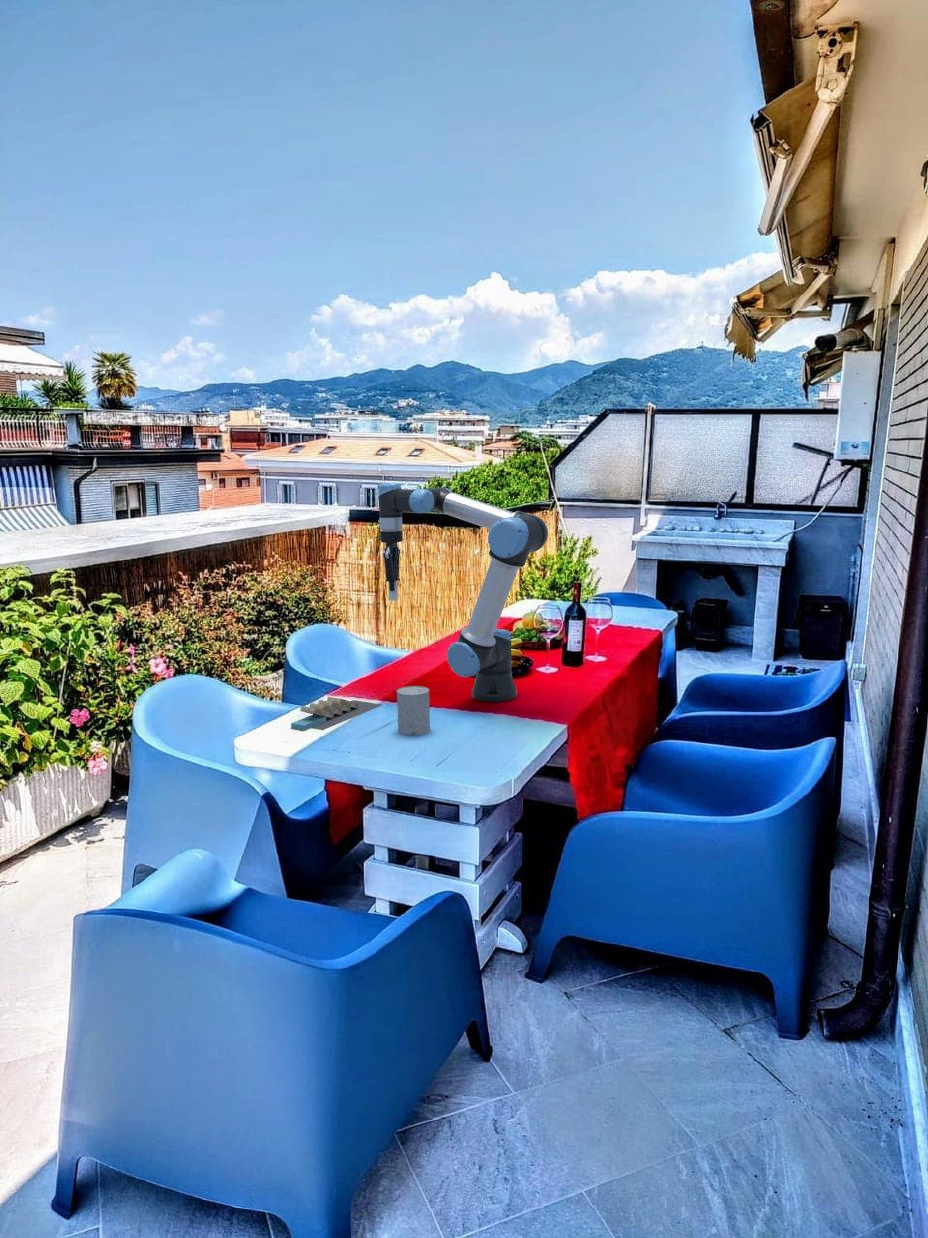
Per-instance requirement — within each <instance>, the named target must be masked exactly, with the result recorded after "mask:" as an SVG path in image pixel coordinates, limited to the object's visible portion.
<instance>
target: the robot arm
mask: <svg viewBox="0 0 928 1238" xmlns="http://www.w3.org/2000/svg"><path fill="white" fill-rule="evenodd" d="M377 499H378V508H379V509H378V510H379V511H378V512H379V514H378V515H379V518H378V520H377V522H378V523H379V529H380V532H379V541H380V543H385V548H384V552H383V553H382V556H383V557H382V558H383V559H384V560H383V561H384V569H385V571H384V572H385V581H386V582H387V583H388V601H395V602H396V601H398V600H399V595H398V593H399V589H398V581H401V578H400V555H401V549H400V548H399V545H398V543H401V542H403V541H404V540H403V539H404V537H403V536H404V535H403V531H402V529H403V513H409V514H410V513H412V514H414V513H415V514H424V513H425V514H426V513H429V512H434V511H435V512H438V513H441V514H444V515H448V516H450V517H453V518H457V519H459V520H462V521H464V522H468V523H470V524H473V525H476V526H479V527H483V528H485V529H488V530H489V532H488V535H487V543H488V546H489V551H488V555H489V558H490V559H491V560H490V563H489V565H488V568H487V572H486V575H485V576H484V580H483V583H482V586H481V589H480V592H479V594H478V597H477V600H476V602H475V605H474V608H473V610H472V614H471V616H470V620H469V622H468V624H467V626H465V627H463V628H462V629H461V631H460V633H459V636H458V639H457V641H456V642H453V643H452V644H451V645H450V646H449V647H448V649H447V653H446V657H447V658H446V659H447V663H448V664H449V667H450V669H451V671H452V672H453V673H455V674H456V675H457V676H459V677H462V678H469V677H474V676H475V680H474V684H473V687H472V688H471V697H472V698H473V699H474V700H478V701H480V702H481V701H482V702H487V703H489V702H490V703H496V702H497V703H498V702H500V703H501V702H506V701H511V700H514V699H515V698H517V697H518V690H517V687H516V683H515V680H514V678H513V675H512V643H513V641H512V634H511V632H510V631H509V630H507V629H502V628H497V626H498V623H499V621H500V618H501V617H502V612H503V610H504V608H505V605H506V603H507V600H508V597H509V595H510V591H511V588H512V586H513V583H514V581H515V578H516V575H517V573H518V571H519V569H521V568H524V567H525V566H526V562H527V560H528V557H529V554H530V553H531V554H532V553H535V552H538V551H539V550H540V549H542V548H543V547H544V546H545V544H546V543H547V540H548V538H549V537H548V536H549V534H548V533H549V531H548V530H549V529H548V527H547V526H548V525H547V524H546V522H545V521H544V520H543V519H542V518H540V516H538V515H535V514H532V513H531V514H530V513H527V512H524V511H520V510H517V511H514V512H513V511H511V510H507V509H504V508H501V507H498V506H495V505H491V504H489V503H486V502H482V501H479V500H476V499H473V498H471V497H467V496H464V495H462V494H458V493H455V492H453V491H452V490H451V489H450V488H447V487H442V486H441V487H430V488H414V489H413V488H412V489H408V488H407V489H403V488H402V484H401V483H399V482H398V483H397V482H392V483H391V482H385V483H383V482H382V483H380V484H379V485H378V496H377Z"/></svg>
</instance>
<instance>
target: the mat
mask: <svg viewBox="0 0 928 1238" xmlns="http://www.w3.org/2000/svg"><path fill="white" fill-rule="evenodd" d="M350 701H351V702H355V703H358V704H359V707H358V709H357V708H351V710H350V712H347V711H343V713H342V715H337V714H334V718H328V717H326V722H324V723H322V724H319V725H317V726H315V727H312V728H311V729H313V730H319V731H324V730H327V729H329V728H331V727H334V726H336V725H339V724H341V723H343V722H345V721H348V720H351V719H354V718H356V717H357V716H360V715H362V714H364V713H366V712H369V711H370V712H371V711H372V710H374V709H377V708H379V707H381V706H383V704H380V703H377V702H376V703H375V702H374V703H373V702H370V701H369V702H368V701H362V700H356V699H353V700H350Z"/></svg>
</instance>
